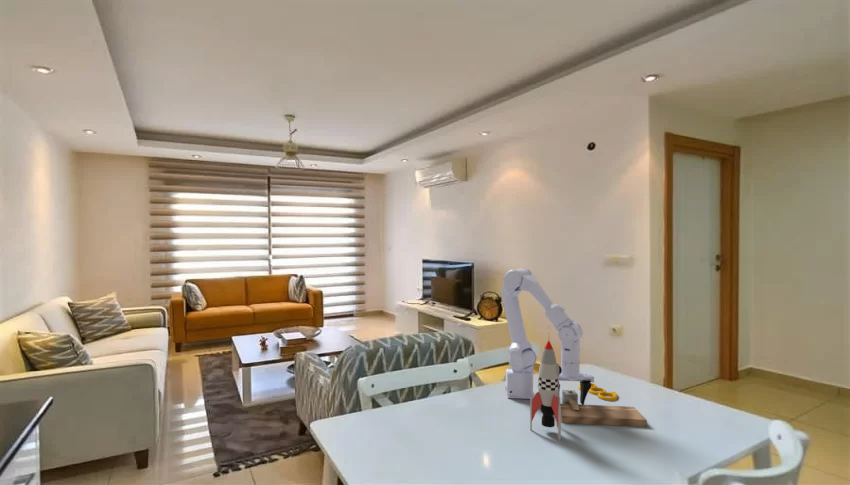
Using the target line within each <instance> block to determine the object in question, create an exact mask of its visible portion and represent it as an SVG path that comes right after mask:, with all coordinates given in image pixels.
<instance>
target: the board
mask: <svg viewBox="0 0 850 485" xmlns="http://www.w3.org/2000/svg"><path fill="white" fill-rule="evenodd" d="M577 405H578V406H579V410H573V408H572V407H571V405H570V404H562V403H560V406H561V424H562V423H563V424H583V425H600V426H601V425H603V426H604V425H605V426H627V427H645V428H646V427H647V425H648V424H647V423H648V422H647V421H648V420H647V419H646V417H644V416H643V414H642V413H641V412H640V411H639V410H638V409H637V408H636V407H635V406H624V405H622V406H621V405H598V404H584V405H582V404H581V403H580V404H579V403H578V404H577Z"/></svg>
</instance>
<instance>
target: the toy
mask: <svg viewBox="0 0 850 485" xmlns="http://www.w3.org/2000/svg"><path fill="white" fill-rule="evenodd" d="M548 328H550V325H548ZM547 335H548V340H547V342H546V344H545V346H544V348H543V349H542V350H543V351H542V355H541V359H540V363H539V364H540V365H539V368H538V374H537V375H538V379H537V381H538V382H537V388H538V392H536V393H534V395H535V396H534V398H533V399H532V390H531V398H530V399H529V402H530V404H529V405H530V406H529V410H530V411H529V415H530V417H529V430H530V431H533V430H532V429H533V420H534V418H535V416H536V413H537V412H538V411H539V409H540V411H541V414H542V416H541V425H542V427H545V428H553V427H555V422H556V427H557V430H558V431H557V433H558V434H557V437H558V438H557V439H558V441H561V440H562V439H561V438H562V437H561V433H562V432H561V431H562V429H561V428H562V425H561V424H562V421H561V406H560V404H561V397H560V392H559V384H560V380H559V374H561V372H562V369H561V365H560V364H559V363H557V359H556V355H555V350H554V347H553V346H552V343H551V341H550V333H548V334H547ZM557 394H558V395H557ZM554 416H555V417H554ZM555 420H556V421H555Z"/></svg>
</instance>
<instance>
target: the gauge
mask: <svg viewBox="0 0 850 485" xmlns="http://www.w3.org/2000/svg"><path fill="white" fill-rule="evenodd" d="M561 391H562V392H561V393H562V396H561V404H570V405H571V407H572V408H573V410H579V406H578V405H577V404H579V394H578V392H577V391H576V390H575V389H573V390H572V389H562V390H561Z"/></svg>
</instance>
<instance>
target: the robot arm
mask: <svg viewBox="0 0 850 485" xmlns="http://www.w3.org/2000/svg"><path fill="white" fill-rule="evenodd" d="M502 280H503V283H502V288H501V299H502V303H503V304H502V305H503V308H504V314H505V318H506V321H507V327H508V331H509V336H510V337H509V338H510V342H511V344H510V346H509V348H508V349H509V350H508V353H509V356H508V364H509V366H510V367H511V368H507V369H506V370H505V387H504V388H505V393H506V397H507V398H508V399H523V400H524V399H525V400H530V398H531V390H532V400H533V398H534V396H535V393H534V365H535V364H536V363H537V361H538V360H537V357H538V356H537V354H536V352H535V351H534V349H533V346H532V344H531V343H530V341H528V338H527V333H526V329H525V324H524V320H523V316H522V315H523V314H522V311H521V307H520V301H519V298H518V297H519V295H520V294H521V292H523V291H524V292H525V291H526V292H529V293H530V294H531V295H532V296H533V297H534V299H535V300H536V301H537V302H538V303H539V304H540V305H541V307H542V308H543V309H544V311H545V312H544V315H545V317H546V319H548V321H549V322H550V323H551V324H552V325H553V327H554V328H555V329H556V331H557V332H558V333H557V336H558V338H559V340H560V341H561V346H560V347H561V348H560V352H561V353H560V367H561V369H562V372H561V374H559V381H562V382H563V381H564V382H579V385H580V390H581V391H580V390H579V391H580V395H579V396H580V398H579V403H580V404H581V405H585V401H586V399H587V395H588V393H589V389H590V388H591V387H592V386H591V383H595V376H594V375H593V374H587V373H586V374H585V373H580V368H581V367H580V366H581V365H580V361H581V360H580V357H581V347H580V345H581V344H580V342H581V338H582V337H583V329H582V327H581V325H580V324H579V323H577V322H575V321H574V320H573V319H571V317H570V316H569V315H568V314H567V313H566V311H565V310H566V309H565V307H563V306H561V305H560V304H556V303H554V302H553V301H552V299H551V297H549V295H548V293H547V292H546V291H545V290H544V289H543V287H542V285H541V284H540V282H538V280H537V277H536V275H535V274H533V273H532V271H531V270H530V269H529V268H526V267H524V268H523V267H522V268H518V269H517V268H516V269H514V268H513V269H512V268H511V269H509V270H507V271H506V272H505V274H504V275H503V276H502ZM560 389H561V384H560V383H559V393H560ZM557 395H558V394H557Z"/></svg>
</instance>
